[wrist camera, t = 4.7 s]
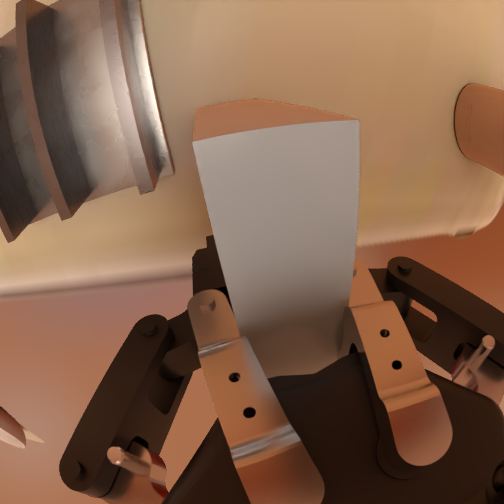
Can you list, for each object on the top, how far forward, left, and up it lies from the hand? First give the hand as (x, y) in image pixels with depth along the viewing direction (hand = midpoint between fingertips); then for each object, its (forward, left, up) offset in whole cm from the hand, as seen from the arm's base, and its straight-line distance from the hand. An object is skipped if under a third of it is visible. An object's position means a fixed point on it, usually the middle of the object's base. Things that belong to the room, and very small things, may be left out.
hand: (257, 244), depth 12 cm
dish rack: (+10, -10, -9) cm, 17 cm away
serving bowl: (+66, +33, -9) cm, 75 cm away
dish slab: (0, 0, -4) cm, 4 cm away
